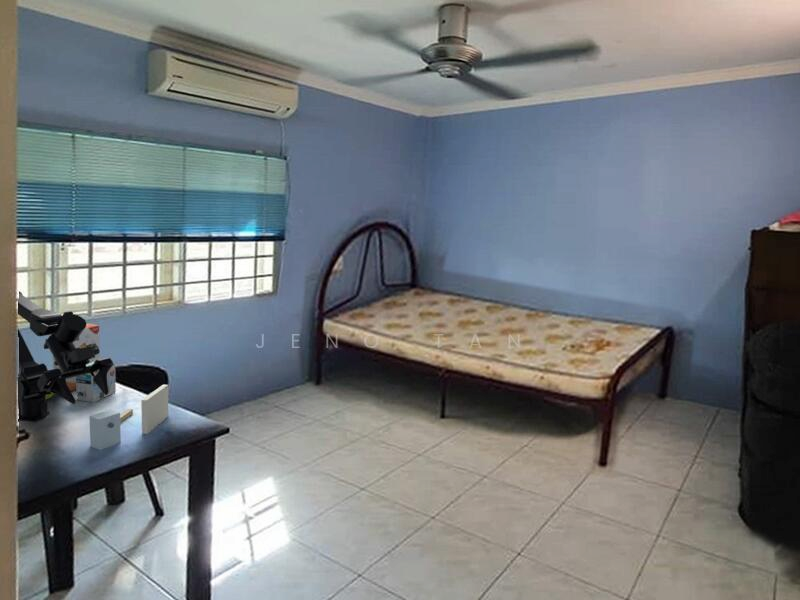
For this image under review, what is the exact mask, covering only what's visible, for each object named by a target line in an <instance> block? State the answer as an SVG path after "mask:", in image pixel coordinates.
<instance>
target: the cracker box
mask: <svg viewBox="0 0 800 600" xmlns="http://www.w3.org/2000/svg"><path fill="white" fill-rule="evenodd" d="M86 324H87V325H86V328H85V329H84V330H83V332H82V333H81V335H80V336H79V337H78V339H77V340H76V341H74V342H73V344H74V345H75V347H76V348H85V347H87V345H89V344H92V343H96V345H97V346H98V348H99V349H100V325H97V324H94V323H86ZM100 353H101V352H99V354H97V355H95V358H91V359H89V361H90V362H89V363H92V362H95V361H96V360H98V359H101V357H100V356H101V355H100ZM54 362H55V358H54V356H53V355H52V370H53V369H60V367H59V365H57V366H55V364H54ZM89 363H88V364H89ZM60 370H61V369H60ZM61 372H62V371H61ZM66 384H67V386H68V388H69V389H70V391H71V392H72V391H75V390H76V391H77V389H76V377H72V378H68V379H66Z"/></svg>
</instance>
